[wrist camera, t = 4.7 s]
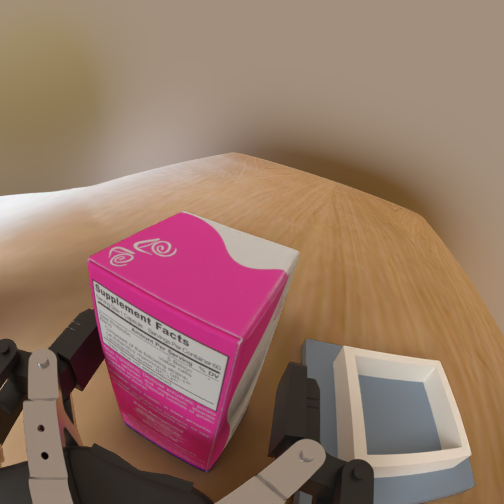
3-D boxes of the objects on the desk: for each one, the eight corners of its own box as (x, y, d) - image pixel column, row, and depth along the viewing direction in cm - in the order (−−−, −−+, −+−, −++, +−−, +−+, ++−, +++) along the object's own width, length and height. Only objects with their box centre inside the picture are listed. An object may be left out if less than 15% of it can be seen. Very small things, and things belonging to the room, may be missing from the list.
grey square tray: (291, 512, 10) (313, 503, 9) (302, 346, 22) (314, 320, 21) (466, 491, 10) (494, 473, 8) (431, 368, 22) (448, 346, 21)
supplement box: (171, 366, 18) (185, 205, 13) (249, 406, 16) (310, 252, 11) (119, 422, 13) (83, 251, 8) (207, 476, 11) (257, 345, 6)
